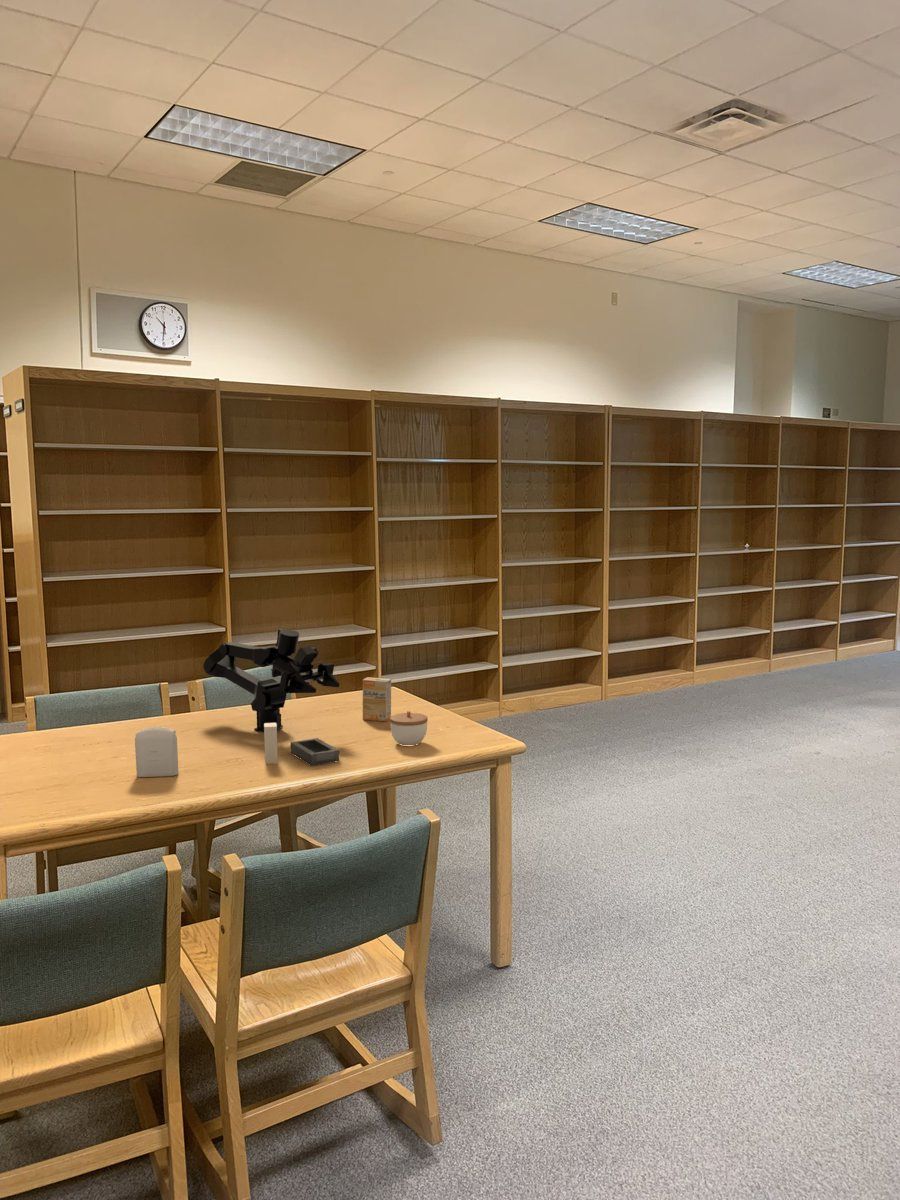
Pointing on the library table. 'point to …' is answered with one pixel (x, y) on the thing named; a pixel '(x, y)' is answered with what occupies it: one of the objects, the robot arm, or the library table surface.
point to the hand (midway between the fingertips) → (327, 688)
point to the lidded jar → (408, 727)
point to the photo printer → (156, 752)
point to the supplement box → (376, 699)
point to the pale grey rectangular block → (270, 742)
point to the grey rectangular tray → (314, 751)
